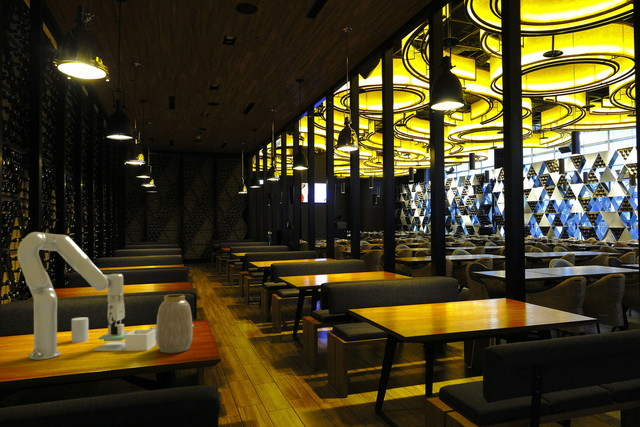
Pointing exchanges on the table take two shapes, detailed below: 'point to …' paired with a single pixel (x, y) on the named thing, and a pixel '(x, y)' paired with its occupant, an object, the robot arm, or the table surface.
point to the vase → (174, 324)
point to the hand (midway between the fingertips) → (116, 333)
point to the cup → (79, 330)
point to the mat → (112, 346)
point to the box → (140, 340)
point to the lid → (117, 337)
